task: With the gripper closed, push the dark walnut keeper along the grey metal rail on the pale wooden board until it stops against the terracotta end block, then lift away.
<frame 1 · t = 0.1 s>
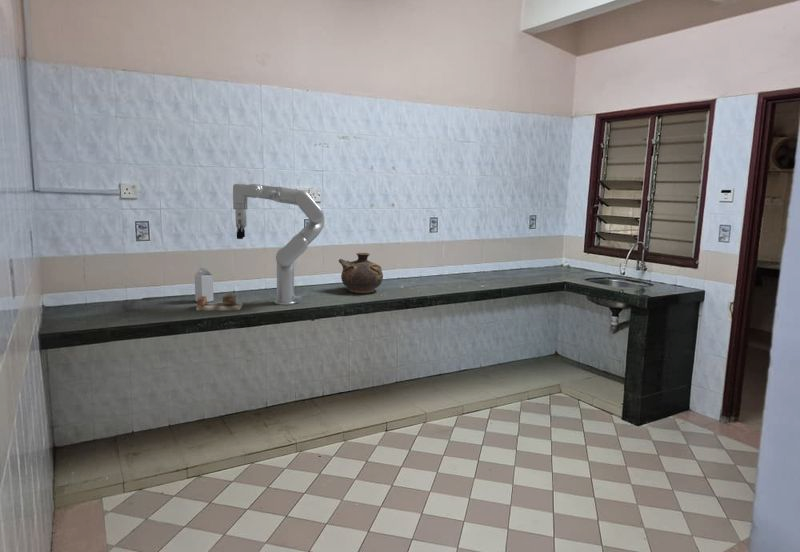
hand: (240, 238, 298), 37 cm above the worktop, fingers open, 9 cm apart
vessel: (361, 291, 349), on the worktop
milk carton: (204, 301, 305), on the worktop
keeper: (229, 300, 291), point 4 cm above the worktop, slide at 0.0 cm
rail board: (219, 307, 291), on the worktop
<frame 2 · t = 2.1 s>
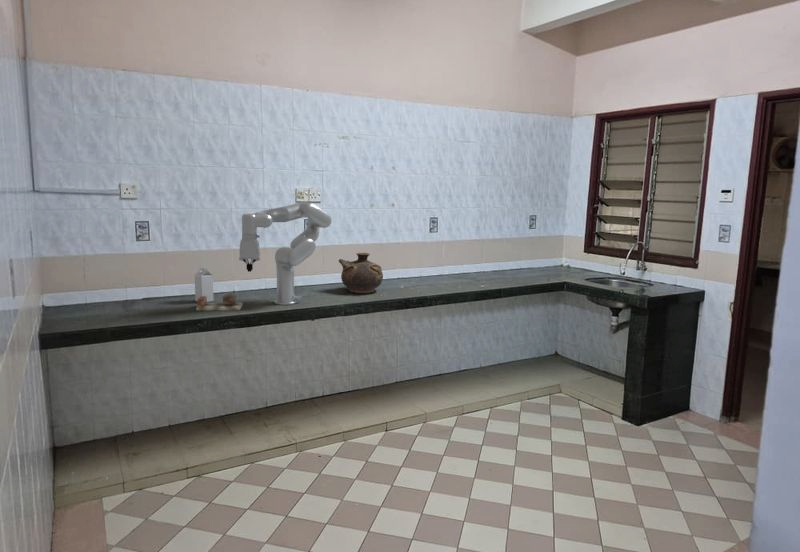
hand: (249, 271, 290), 20 cm above the worktop, fingers closed
nothing on the worktop moved.
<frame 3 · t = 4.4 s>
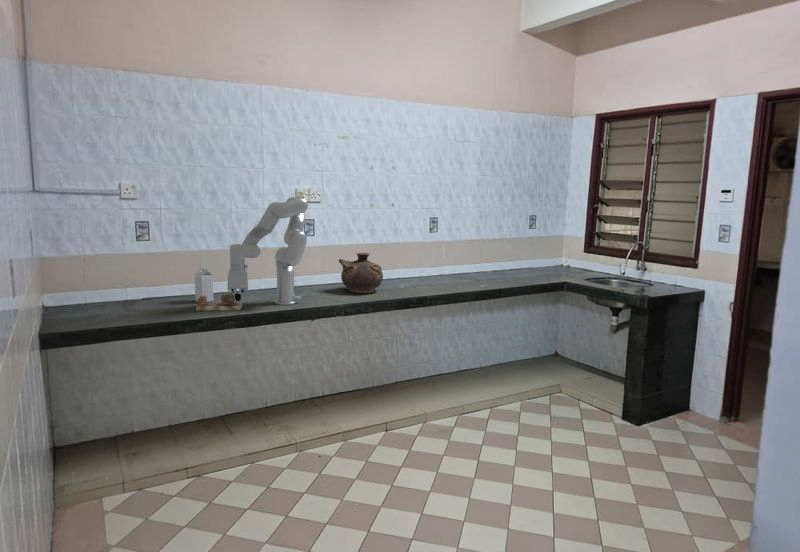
hand: (237, 300, 291), 4 cm above the worktop, fingers closed
keeper: (227, 300, 290), point 4 cm above the worktop, slide at 0.8 cm
everything else where it was.
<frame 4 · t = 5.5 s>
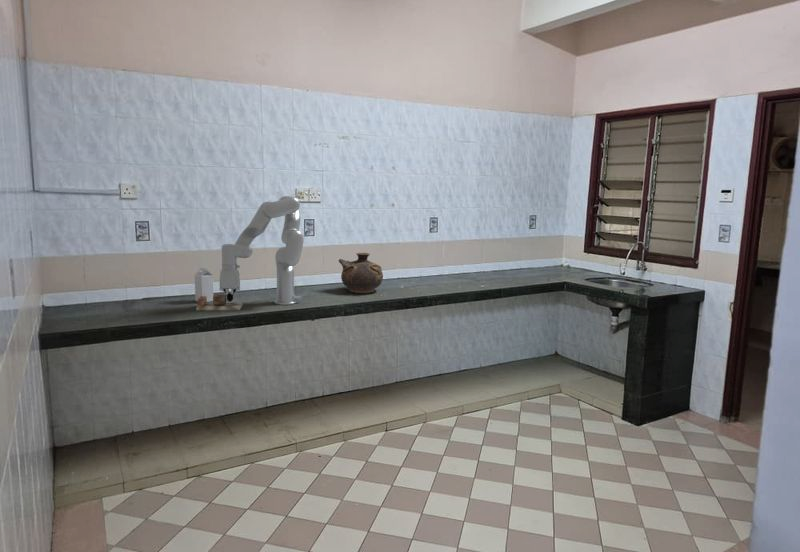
hand: (230, 301, 291), 4 cm above the worktop, fingers closed
keeper: (219, 300, 290), point 4 cm above the worktop, slide at 5.0 cm, touching gripper
everything else where it was.
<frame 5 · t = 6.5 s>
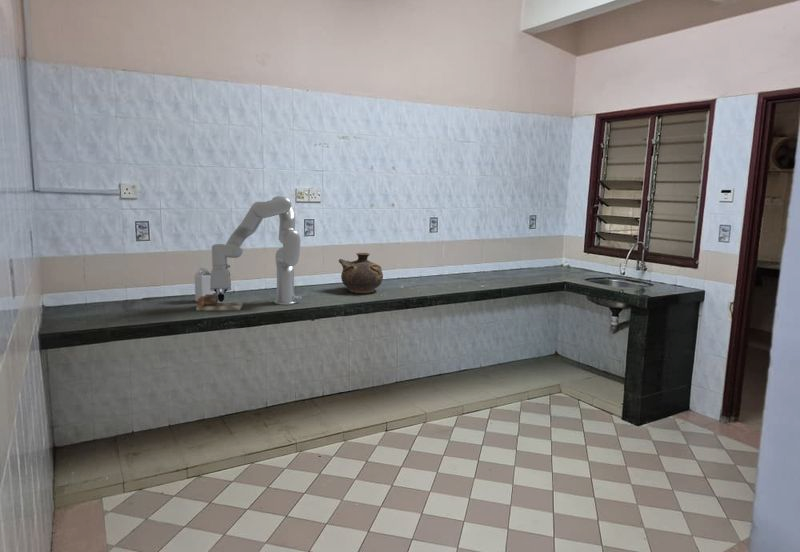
hand: (221, 301, 290), 4 cm above the worktop, fingers closed
keeper: (211, 300, 289), point 4 cm above the worktop, slide at 9.5 cm, touching gripper, rail board
everything else where it was.
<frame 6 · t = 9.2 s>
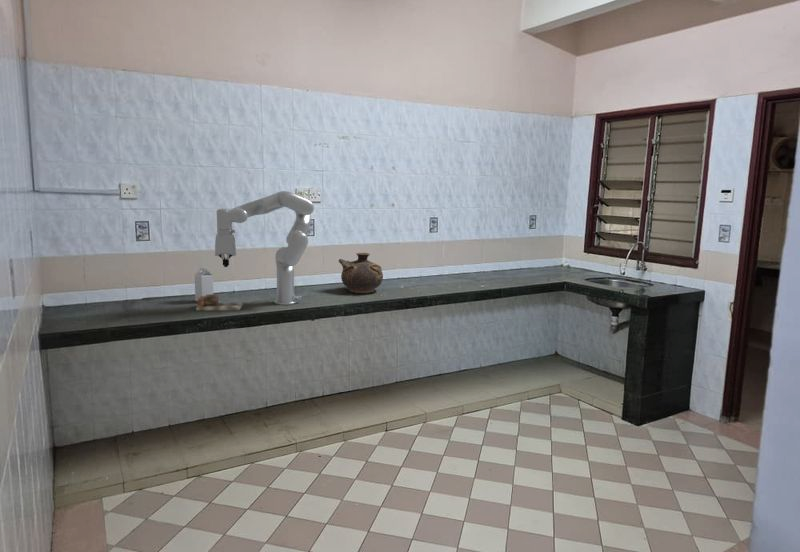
hand: (226, 266, 288), 22 cm above the worktop, fingers closed
keeper: (211, 300, 289), point 4 cm above the worktop, slide at 9.2 cm
everything else where it was.
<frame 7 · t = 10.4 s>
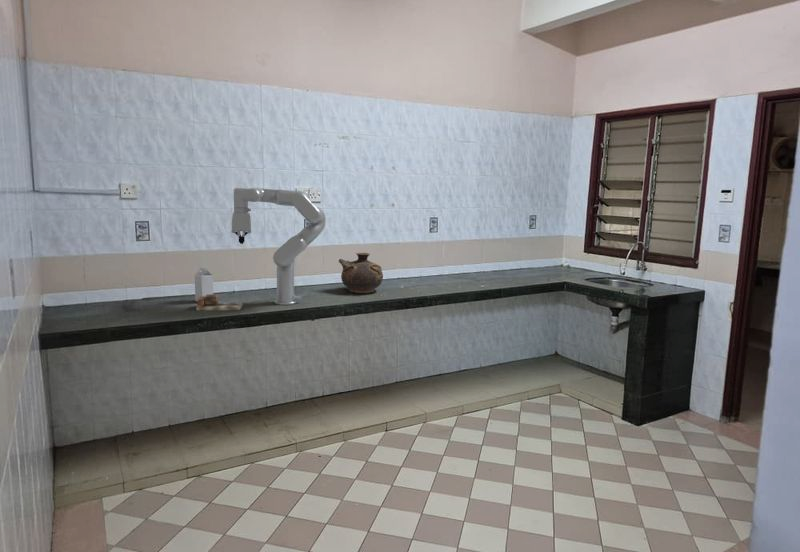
hand: (241, 243, 302), 33 cm above the worktop, fingers closed
nothing on the worktop moved.
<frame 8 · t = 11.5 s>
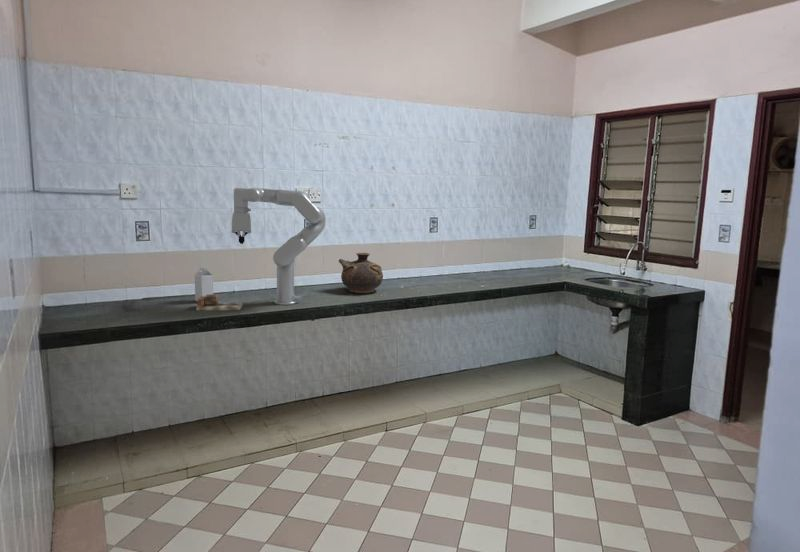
hand: (241, 243, 302), 33 cm above the worktop, fingers closed
nothing on the worktop moved.
at the end: keeper slide at 9.2 cm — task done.
